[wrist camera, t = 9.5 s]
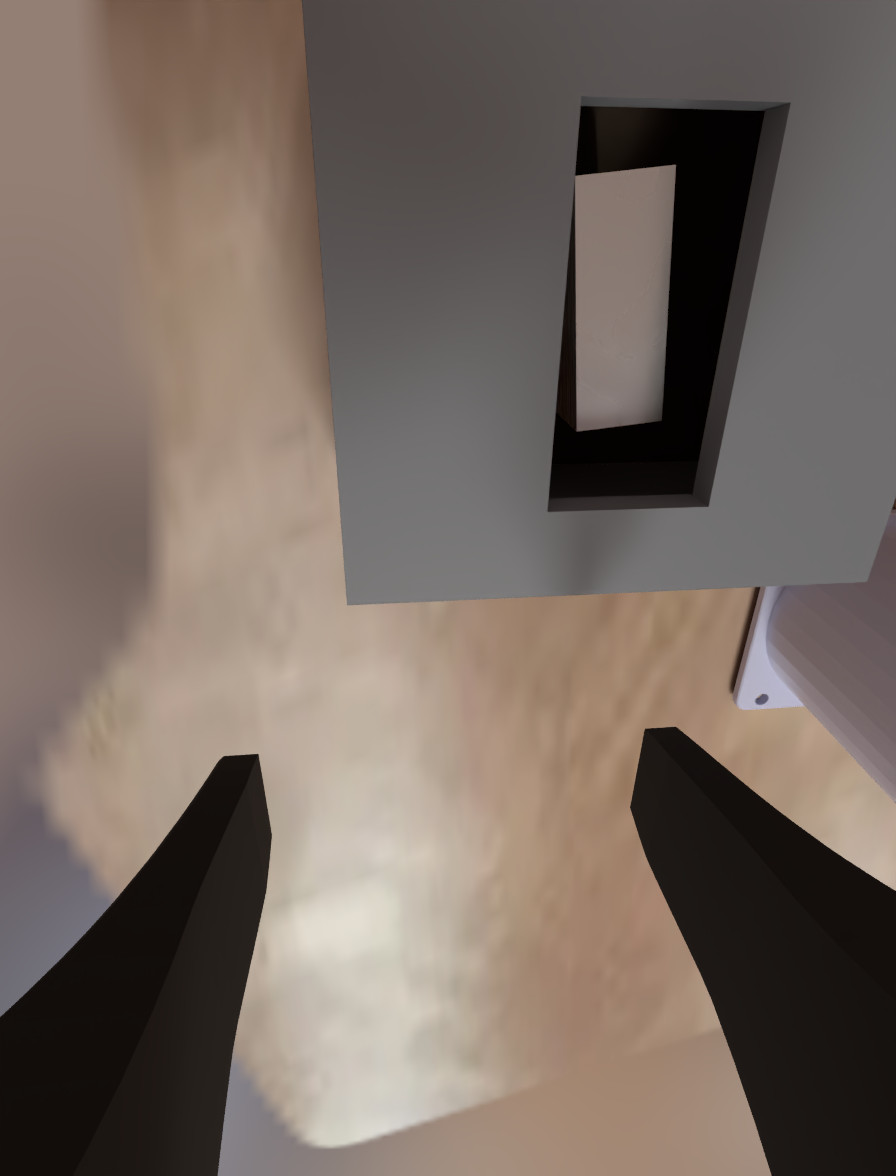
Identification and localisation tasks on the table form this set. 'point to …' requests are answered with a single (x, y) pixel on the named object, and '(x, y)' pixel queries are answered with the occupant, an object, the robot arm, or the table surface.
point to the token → (616, 299)
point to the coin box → (538, 283)
